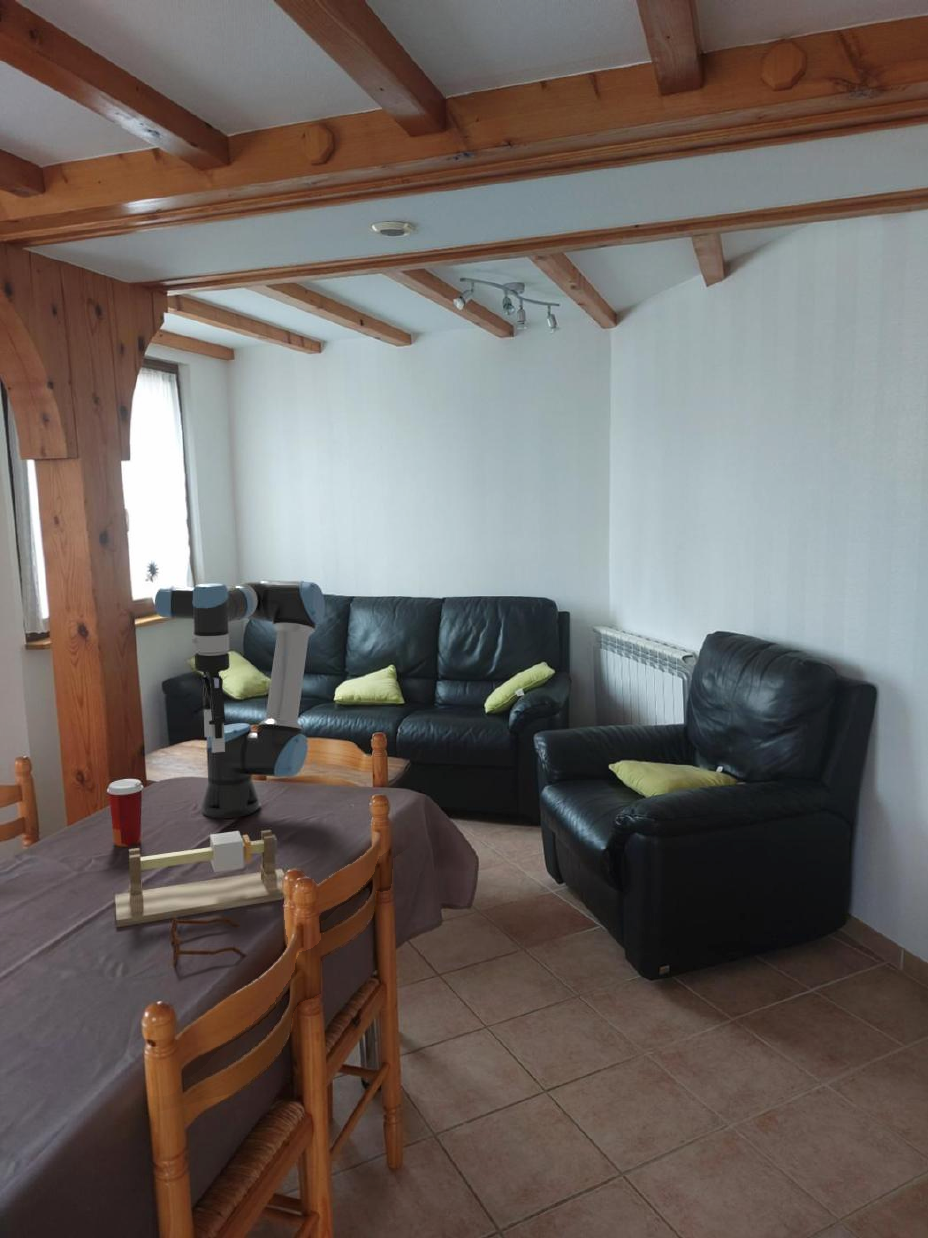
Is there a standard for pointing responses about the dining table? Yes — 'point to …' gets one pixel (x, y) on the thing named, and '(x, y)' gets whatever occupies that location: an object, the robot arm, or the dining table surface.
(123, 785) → the coffee cup
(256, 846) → the pale yellow long bar
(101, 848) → the dining table surface
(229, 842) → the sleeve
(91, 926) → the dining table surface
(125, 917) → the wooden rod stand
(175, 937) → the glasses
